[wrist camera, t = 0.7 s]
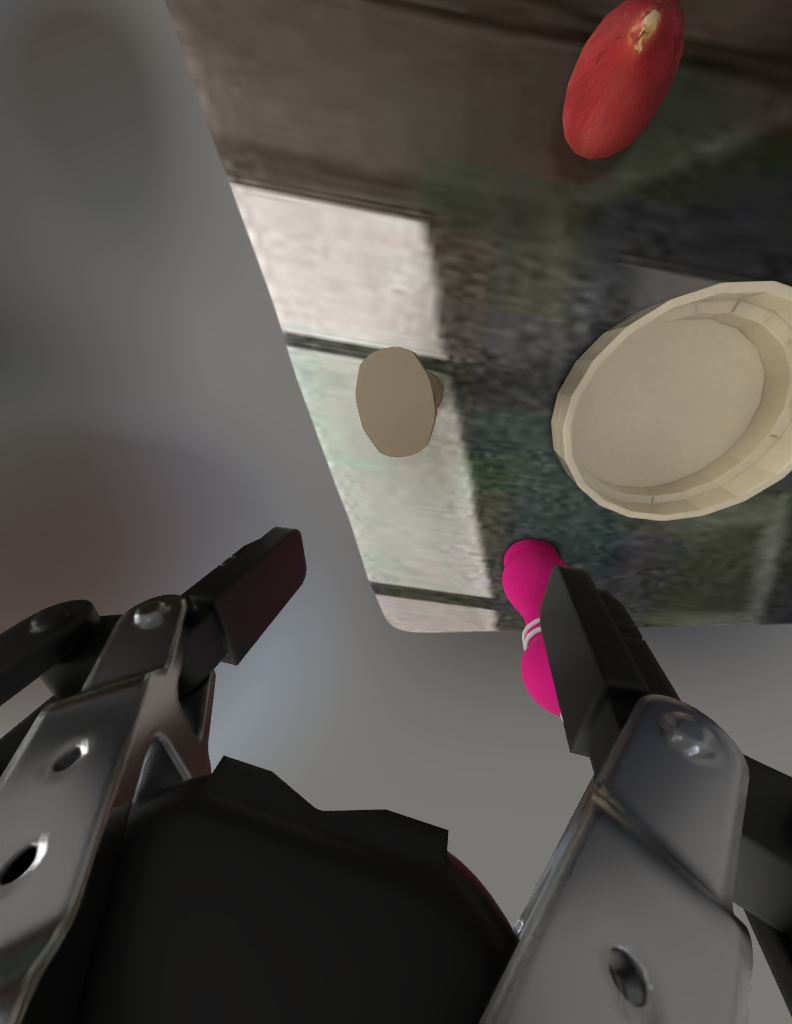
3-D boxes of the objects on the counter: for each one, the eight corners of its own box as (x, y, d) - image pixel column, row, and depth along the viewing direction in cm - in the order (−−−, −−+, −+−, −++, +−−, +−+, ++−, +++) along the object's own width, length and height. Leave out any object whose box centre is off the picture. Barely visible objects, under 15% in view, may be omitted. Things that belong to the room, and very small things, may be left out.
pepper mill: (568, 578, 37) (652, 767, 19) (508, 588, 39) (533, 762, 22) (555, 528, 35) (638, 691, 17) (492, 542, 37) (507, 695, 20)
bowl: (576, 301, 26) (600, 286, 21) (829, 296, 22) (927, 275, 17) (533, 487, 33) (542, 508, 28) (717, 505, 30) (763, 532, 25)
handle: (447, 352, 30) (424, 337, 17) (455, 418, 32) (440, 451, 19) (400, 363, 31) (345, 358, 18) (412, 425, 34) (370, 461, 20)
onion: (588, 50, 20) (647, -121, 13) (666, 85, 20) (768, -68, 13) (535, 165, 23) (561, 76, 16) (603, 197, 23) (660, 121, 16)
